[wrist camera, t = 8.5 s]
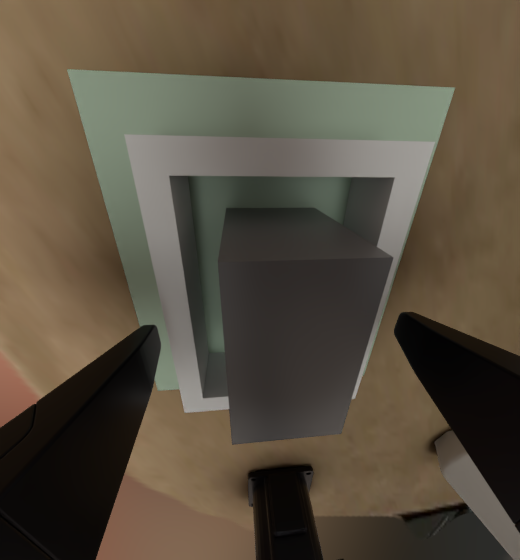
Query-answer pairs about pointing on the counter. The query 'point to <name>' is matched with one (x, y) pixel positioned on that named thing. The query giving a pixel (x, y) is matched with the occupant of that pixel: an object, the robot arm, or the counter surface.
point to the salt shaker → (476, 492)
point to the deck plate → (243, 186)
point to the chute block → (294, 319)
